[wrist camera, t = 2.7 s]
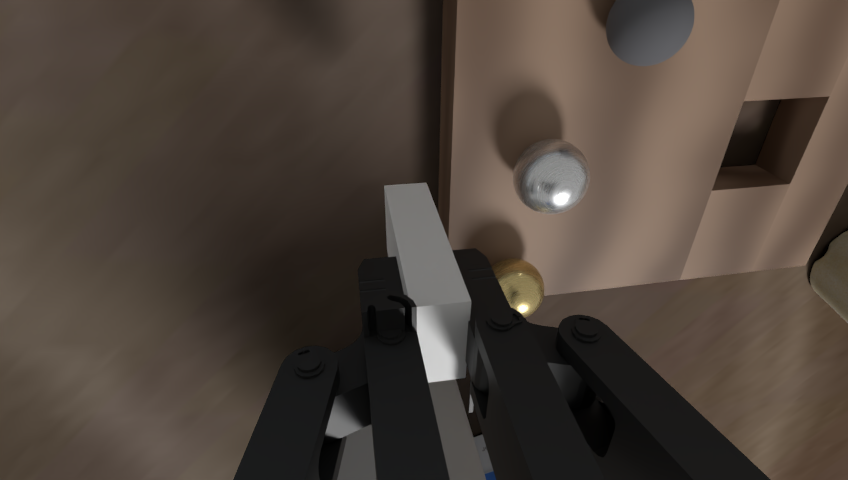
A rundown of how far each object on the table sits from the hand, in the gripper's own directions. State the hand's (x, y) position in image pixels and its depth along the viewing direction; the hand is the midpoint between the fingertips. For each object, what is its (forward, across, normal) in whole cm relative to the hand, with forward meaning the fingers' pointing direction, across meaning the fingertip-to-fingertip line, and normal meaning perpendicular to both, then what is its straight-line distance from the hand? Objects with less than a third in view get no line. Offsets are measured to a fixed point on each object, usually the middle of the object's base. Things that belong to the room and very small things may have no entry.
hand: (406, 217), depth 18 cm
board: (+7, +14, 0) cm, 15 cm away
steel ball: (+3, +7, 0) cm, 7 cm away
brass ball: (+3, +6, -6) cm, 9 cm away
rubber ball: (+3, +10, +6) cm, 12 cm away
